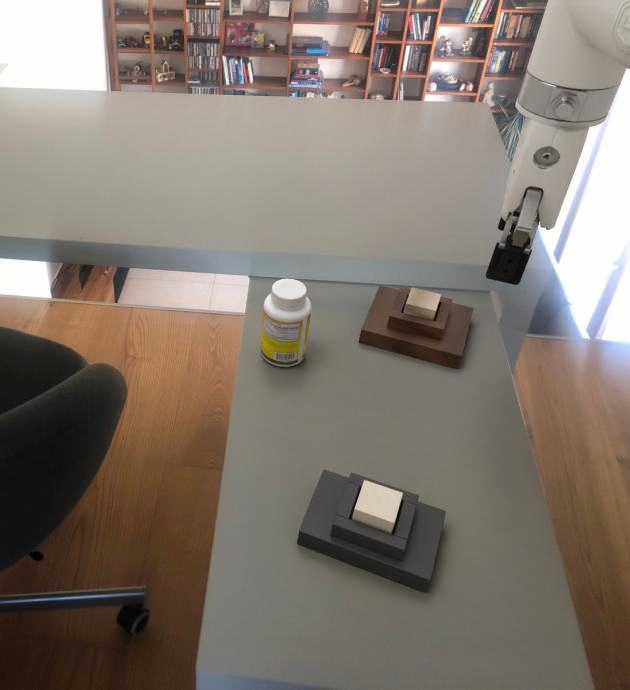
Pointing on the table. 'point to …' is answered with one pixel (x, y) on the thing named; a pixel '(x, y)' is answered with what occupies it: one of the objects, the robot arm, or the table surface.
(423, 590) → the stepped wall plate
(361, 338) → the brown stepped switch base
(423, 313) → the far key
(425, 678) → the table surface
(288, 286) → the supplement bottle
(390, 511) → the near key
